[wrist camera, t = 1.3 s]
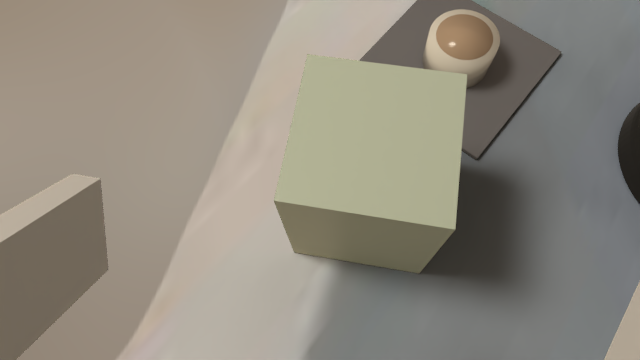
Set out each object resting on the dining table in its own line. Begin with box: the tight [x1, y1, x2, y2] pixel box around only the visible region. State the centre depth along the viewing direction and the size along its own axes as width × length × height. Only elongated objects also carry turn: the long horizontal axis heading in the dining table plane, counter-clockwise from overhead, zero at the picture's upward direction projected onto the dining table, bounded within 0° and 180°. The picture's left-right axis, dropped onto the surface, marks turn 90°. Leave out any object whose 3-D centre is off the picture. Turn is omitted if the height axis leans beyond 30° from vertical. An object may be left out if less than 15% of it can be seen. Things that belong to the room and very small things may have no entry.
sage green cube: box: [274, 54, 467, 274], centre depth 33 cm, size 10×10×12 cm
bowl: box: [422, 9, 500, 88], centre depth 42 cm, size 6×6×4 cm
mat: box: [359, 0, 561, 160], centre depth 43 cm, size 14×14×1 cm
